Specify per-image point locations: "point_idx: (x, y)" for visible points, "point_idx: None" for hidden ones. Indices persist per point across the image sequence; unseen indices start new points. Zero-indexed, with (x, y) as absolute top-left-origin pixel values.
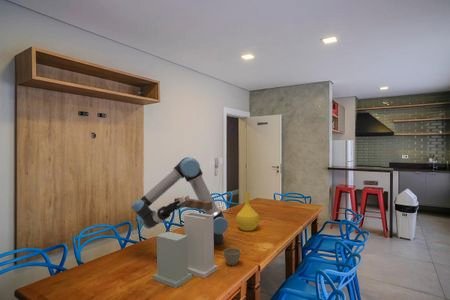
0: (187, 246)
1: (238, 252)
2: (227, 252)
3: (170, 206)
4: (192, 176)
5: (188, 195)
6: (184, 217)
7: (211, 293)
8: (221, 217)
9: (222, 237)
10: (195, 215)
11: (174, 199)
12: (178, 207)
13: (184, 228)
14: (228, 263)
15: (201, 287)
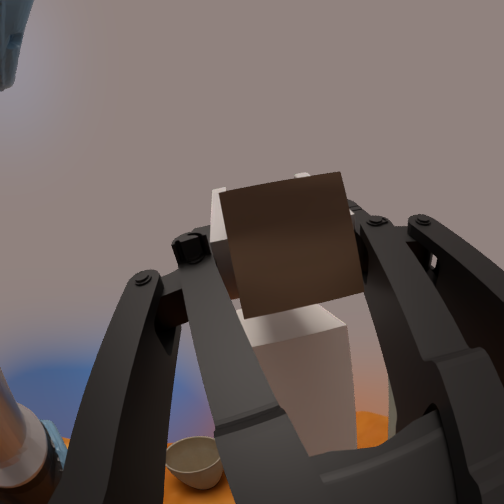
0: (390, 398)
1: (174, 454)
2: (183, 477)
3: (438, 261)
4: (13, 74)
5: (223, 188)
6: (347, 340)
7: (371, 418)
8: (46, 420)
9: None
10: (292, 316)
11: (343, 184)
12: (160, 462)
13: (354, 411)
14: (219, 479)
15: (377, 440)
